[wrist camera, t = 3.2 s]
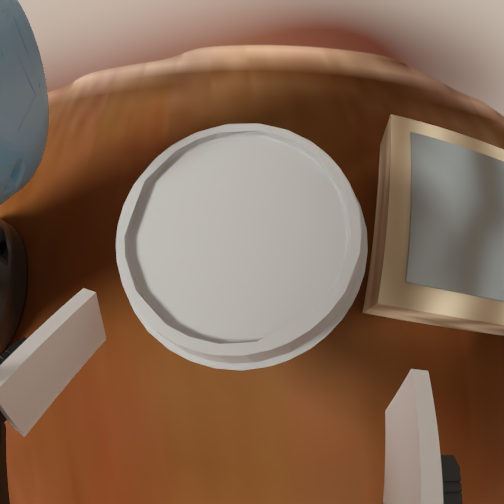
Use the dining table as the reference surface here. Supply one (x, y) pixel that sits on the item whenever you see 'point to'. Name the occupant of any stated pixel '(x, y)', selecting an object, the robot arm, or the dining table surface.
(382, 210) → the birch base block
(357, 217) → the disposable coffee cup
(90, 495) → the dining table surface
